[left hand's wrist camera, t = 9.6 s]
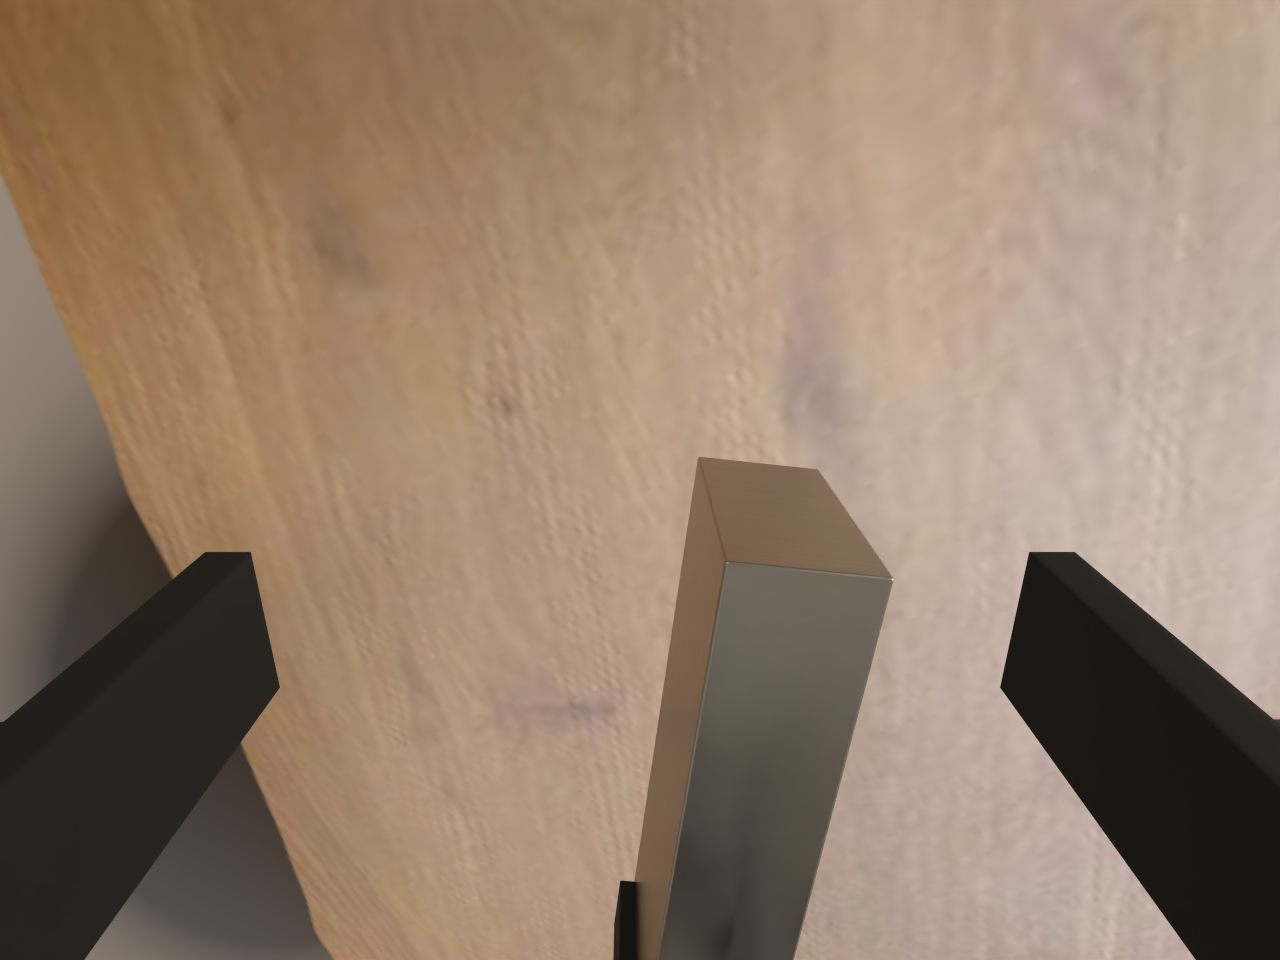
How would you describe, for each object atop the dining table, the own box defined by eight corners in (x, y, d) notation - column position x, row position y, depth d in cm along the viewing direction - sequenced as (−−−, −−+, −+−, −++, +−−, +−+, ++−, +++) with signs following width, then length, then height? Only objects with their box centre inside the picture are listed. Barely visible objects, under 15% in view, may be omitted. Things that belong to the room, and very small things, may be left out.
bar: (697, 455, 27) (725, 561, 19) (818, 468, 28) (895, 578, 20) (625, 938, 36) (623, 1151, 28) (718, 945, 36) (742, 1158, 28)
